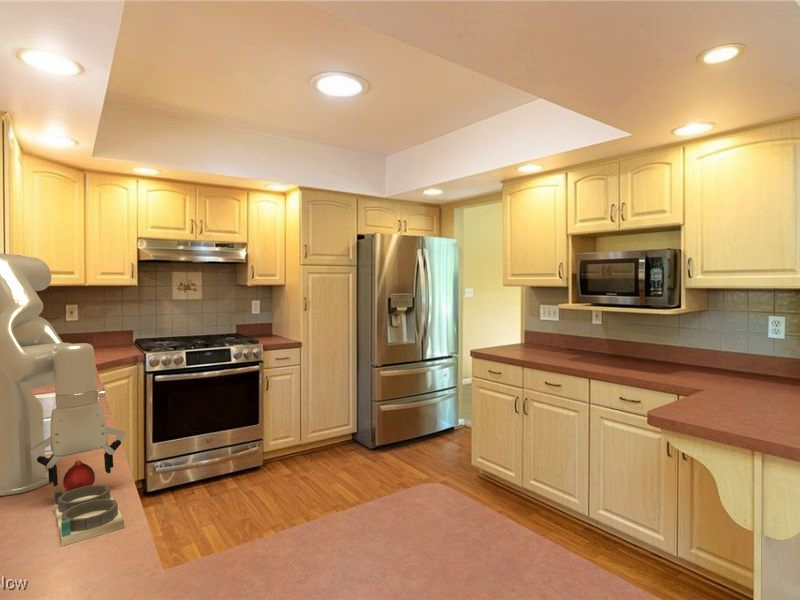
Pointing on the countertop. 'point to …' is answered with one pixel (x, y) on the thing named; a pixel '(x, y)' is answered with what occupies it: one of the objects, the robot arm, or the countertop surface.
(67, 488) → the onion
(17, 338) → the robot arm
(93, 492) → the cream flat ringed piece
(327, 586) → the countertop surface
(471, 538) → the countertop surface
